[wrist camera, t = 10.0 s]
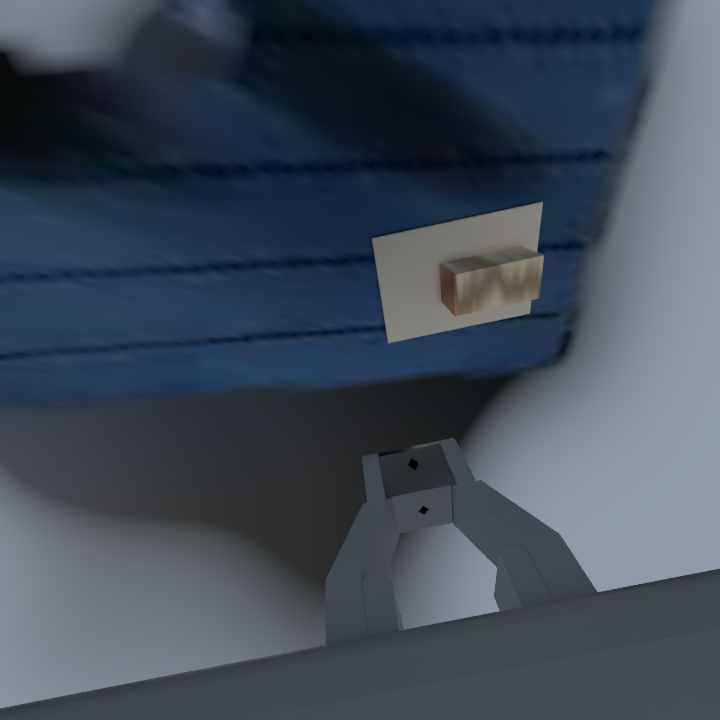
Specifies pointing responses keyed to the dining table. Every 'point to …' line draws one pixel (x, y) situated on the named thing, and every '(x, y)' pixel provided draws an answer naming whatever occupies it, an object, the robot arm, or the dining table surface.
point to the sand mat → (422, 275)
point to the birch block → (490, 280)
